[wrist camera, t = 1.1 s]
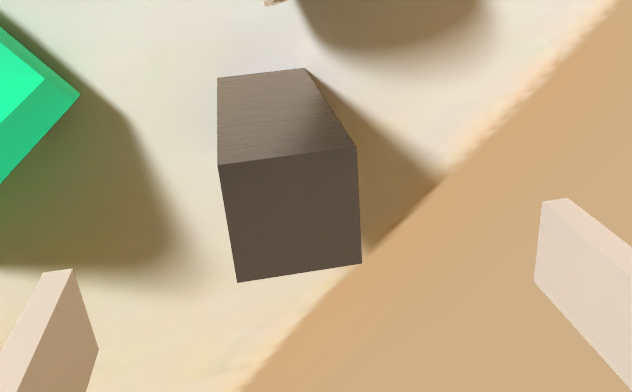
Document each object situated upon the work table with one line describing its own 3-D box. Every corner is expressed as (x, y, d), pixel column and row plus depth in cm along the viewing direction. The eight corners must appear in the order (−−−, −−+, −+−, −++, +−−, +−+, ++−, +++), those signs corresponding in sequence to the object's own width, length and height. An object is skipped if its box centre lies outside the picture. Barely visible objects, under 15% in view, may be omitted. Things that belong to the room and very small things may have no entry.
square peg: (230, 159, 30) (237, 282, 20) (217, 78, 28) (217, 165, 18) (311, 149, 31) (362, 263, 20) (304, 67, 29) (356, 146, 18)
